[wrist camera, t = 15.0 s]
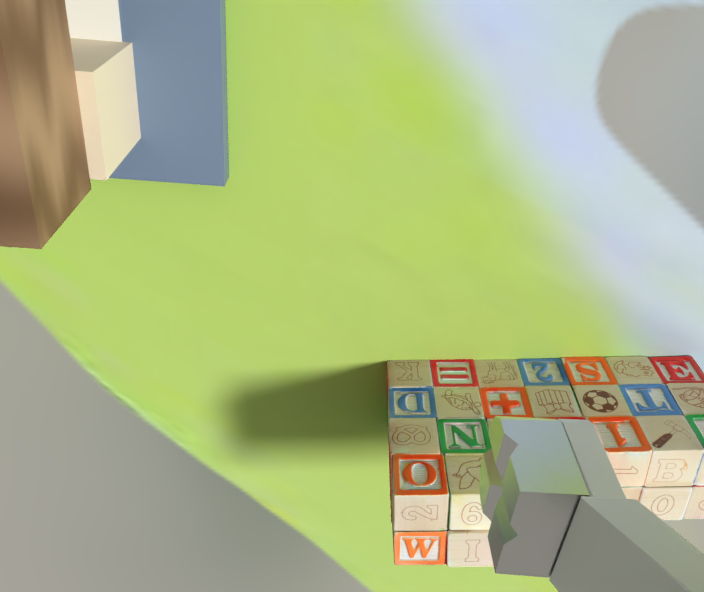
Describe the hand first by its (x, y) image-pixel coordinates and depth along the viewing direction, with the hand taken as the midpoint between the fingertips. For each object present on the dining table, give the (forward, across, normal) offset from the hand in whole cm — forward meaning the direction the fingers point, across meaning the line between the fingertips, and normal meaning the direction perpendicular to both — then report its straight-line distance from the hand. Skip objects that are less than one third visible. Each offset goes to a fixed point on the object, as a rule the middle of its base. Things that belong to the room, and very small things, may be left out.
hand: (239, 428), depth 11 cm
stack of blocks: (+30, -17, +23) cm, 41 cm away
